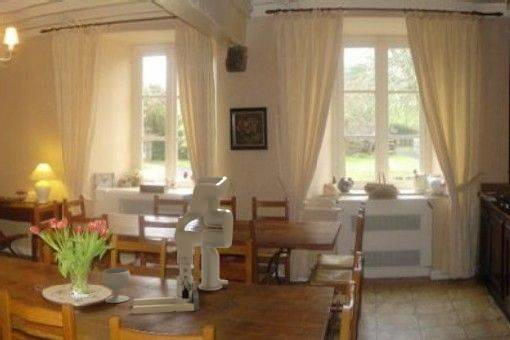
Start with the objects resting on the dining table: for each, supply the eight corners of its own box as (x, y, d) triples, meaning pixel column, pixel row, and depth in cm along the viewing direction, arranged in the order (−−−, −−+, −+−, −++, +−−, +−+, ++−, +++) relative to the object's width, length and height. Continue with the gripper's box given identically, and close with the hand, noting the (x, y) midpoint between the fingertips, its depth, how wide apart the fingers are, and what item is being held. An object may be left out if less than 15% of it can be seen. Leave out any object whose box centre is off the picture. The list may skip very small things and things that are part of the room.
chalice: (123, 305, 269) (123, 274, 268) (97, 303, 272) (96, 273, 271) (135, 296, 283) (135, 267, 282) (110, 295, 286) (109, 266, 285)
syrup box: (184, 308, 263) (185, 277, 262) (175, 305, 266) (176, 275, 265) (193, 305, 267) (193, 275, 266) (184, 302, 271) (184, 273, 270)
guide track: (197, 301, 275) (197, 289, 274) (198, 310, 262) (198, 297, 262) (134, 305, 270) (134, 292, 269) (132, 313, 257) (132, 301, 257)
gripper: (193, 263, 258) (194, 301, 259) (192, 255, 275) (192, 290, 276) (177, 264, 256) (177, 301, 257) (176, 256, 274) (176, 291, 275)
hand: (185, 295), depth 267 cm, fingers closed on syrup box, 7 cm apart
